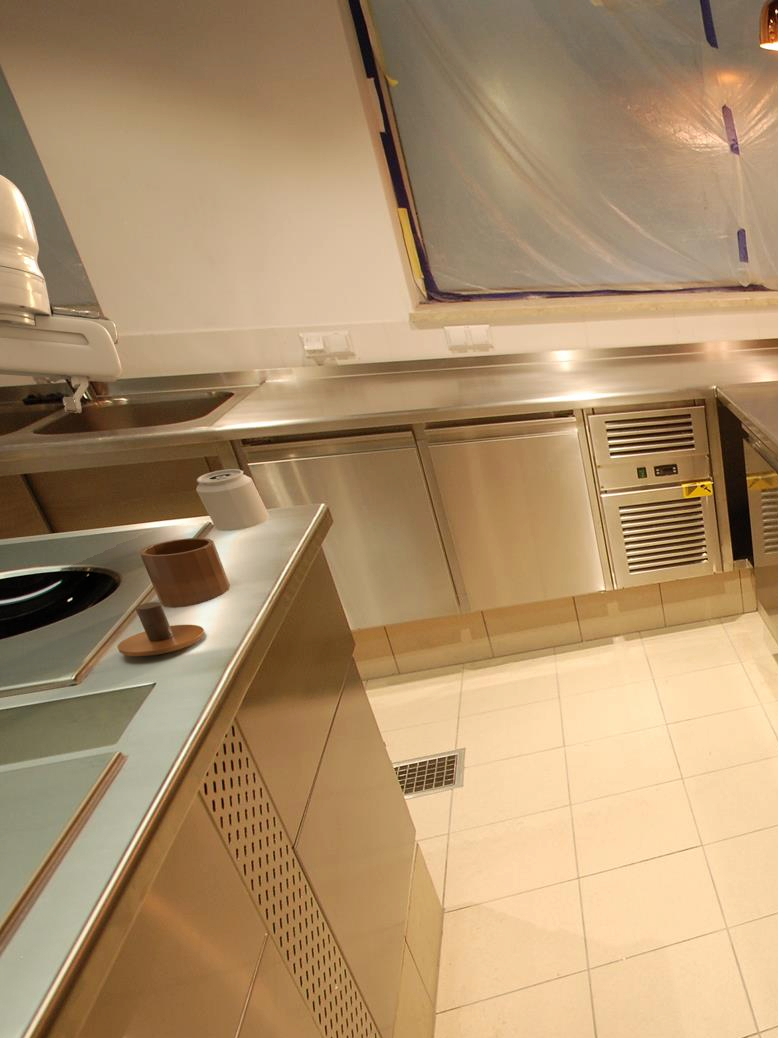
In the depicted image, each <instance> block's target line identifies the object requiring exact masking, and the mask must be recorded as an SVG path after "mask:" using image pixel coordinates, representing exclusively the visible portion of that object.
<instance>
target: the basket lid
mask: <svg viewBox="0 0 778 1038" xmlns="http://www.w3.org/2000/svg"><path fill="white" fill-rule="evenodd" d="M135 611H136V613H137V615H138V618H139V620H140V623H141V625H142V627H143V629H144V631H142V632H138V633H135V634H133V635H131V636H129V637H127V638H125V639H123V640H122V641H120V642H119V643H118V644H117V649H118V652H119V653H120V654H122V656H123V655H124V656H128V657H146V656H158V655H164V654H165V655H166V654H168V653H172V652H176V651H179V650H182V649H185V648H186V647H189V646H191V645H194V644H196V643H198V642H200V641H201V640H202V639H203V638H205V635H206V632H205V629H204V628H203V626H200V625H197V624H175V625H170V623H169V620H168V618H167V615H166V614H165V611H164V607H163V605H162V604H161V603H160V601H151V602H145V603H141V604H139V605H136V606H135Z"/></svg>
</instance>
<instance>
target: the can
mask: <svg viewBox="0 0 778 1038" xmlns="http://www.w3.org/2000/svg"><path fill="white" fill-rule="evenodd" d="M196 482H197V483H198V484H197V486H196V488H195V491H196V493H197V495H198V497H199V499H200V500H201V502H202V504H203V506H204V509H205V510H206V512H207V515H208V516H209V518H210V520H211V522H212V524H213V525H214V527H215V529H216V530H217V531H224V532H225V531H238V530H244V529H249V528H252V527H255V526H258V525H260V524H263V523H264V522H267V521H268V519H270V515H269V512H268V510H267V508H266V506H265V504H264V501H263V500H262V497H261V495H260V494H259V491H258V489H257V487H256V485H255V483H254V481H253V479H252V478H251V477H250V476H247V475H246V474H244V470H241V469H238V468H228V469H220V470H215V471H211V472H207V473H205V474H202V475H200V476H199V477H197V478H196Z"/></svg>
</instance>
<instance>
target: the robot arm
mask: <svg viewBox="0 0 778 1038" xmlns="http://www.w3.org/2000/svg"><path fill="white" fill-rule="evenodd" d="M39 251H40V246H39V242H38V236H37V232H36V227H35V224H34V221H33V217H32V214H31V210H30V208H29V206H28V203H27V201H26V199H25V197H24V195H23V193H22V192H21V190H20V189H19V188H18V187H17V185H15V184H14V183H13V182H12V181H11V180H9V179H8V178H7V177H5V176H4V175H2V174H0V375H3V376H4V375H5V376H6V375H7V376H16V377H17V376H18V377H19V376H20V377H30V378H31V377H33V378H45V379H59V380H70V382H71V387H72V388H75V389H76V390H75V392H74V394H73V395H72V396H63V398H62V402H63V406H64V412H65V413H70V414H71V413H72V414H82V412H83V410H82V403H81V399H82V398H83V396H84V394H85V393H86V391H87V390H88V387H89V385H90V384H89V382H99V383H115V382H117V381H118V380H119V379H120V378H121V377H122V375H123V368H122V363H121V360H120V357H119V354H118V351H117V348H116V344H117V342H118V341H119V336H118V330H117V327H116V325H115V323H114V322H113V321H112V319H110V318H109V317H107V316H105V315H102V314H99V313H100V312H98V311H95V310H90V309H89V310H88V309H84V310H83V309H74V308H70V307H65V306H64V307H63V306H57V305H56V306H55V305H51V303H50V298H49V293H48V288H47V283H46V279H45V275H44V274H43V273H42V270H41V269H40V267H39V264H38V257H39V256H38V255H39Z"/></svg>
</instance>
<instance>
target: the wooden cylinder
mask: <svg viewBox="0 0 778 1038" xmlns="http://www.w3.org/2000/svg"><path fill="white" fill-rule="evenodd" d="M139 555H140V557H141V560H142V562H143V564H144V567H145V569H146V572H147V574H148V577H149V579H150V581H151V585H152V586H153V589H154V591H155V594H156V596H157V599H158V602H159V603H161V606H162V607H163V608H169V609H176V608H186V607H192V606H195V605H200V604H203V603H207V602H210V601H212V600H214V599H216V598H218V596H219V597H221V596H222V595H224V594H226V592H228V591H229V590H230V588H231V587H230V586H231V584H230V582H229V579H228V577H227V574H226V571H225V568H224V566H223V563H222V561H221V558H220V555H219V553H218V550H217V546H216V544H215V541H214V540H213V539H211V538H204V537H189V538H188V537H187V538H179V539H171V540H167V541H162V542H159V543H155V544H151V545H148V546H146V547H144V548H142V549H141V550H140V552H139Z"/></svg>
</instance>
